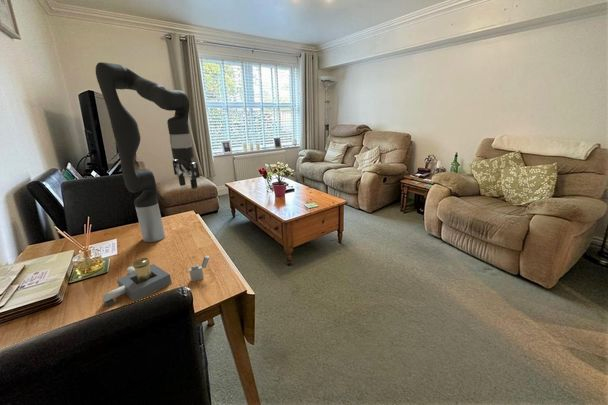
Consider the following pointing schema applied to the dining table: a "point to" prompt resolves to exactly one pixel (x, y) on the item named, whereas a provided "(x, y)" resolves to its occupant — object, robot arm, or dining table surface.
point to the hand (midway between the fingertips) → (188, 186)
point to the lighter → (198, 270)
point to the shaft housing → (138, 291)
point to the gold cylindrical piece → (142, 270)
